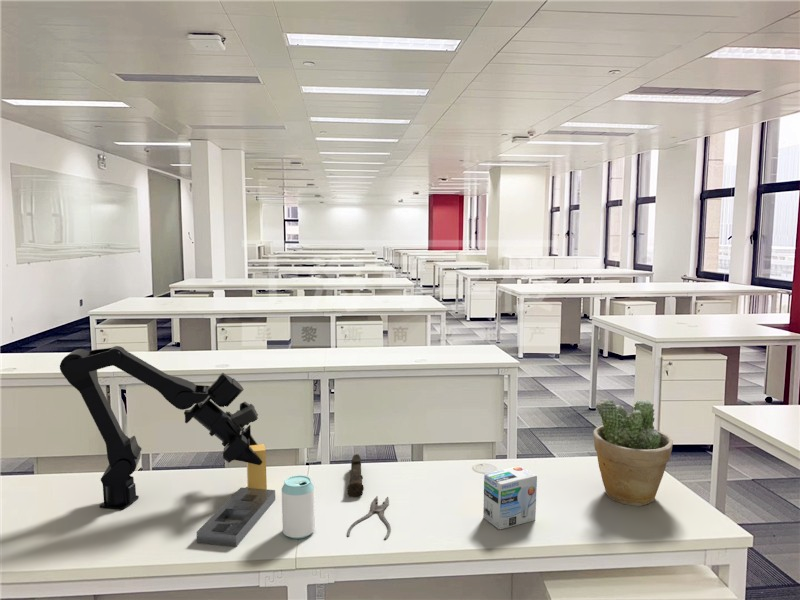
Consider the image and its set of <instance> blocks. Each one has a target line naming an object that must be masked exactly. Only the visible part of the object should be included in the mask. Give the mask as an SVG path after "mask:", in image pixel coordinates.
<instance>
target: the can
mask: <svg viewBox="0 0 800 600" xmlns="http://www.w3.org/2000/svg"><path fill="white" fill-rule="evenodd" d="M315 502H316V501H315V485H314V484H313V482H312V479H311V478H310V476H307V475H302V474H301V475H300V474H299V475H292V476H288V478H286V479H285V480H284V484H283V485H282V486H281V515H282V517H281V518H282V519H281V520H282V521H281V522H282V533H283V535H284V536H286V537H288V538H290V539H293V540H294V539H297V540H298V539H299V540H300V539H304V538H306V537H307V538H308V537H309V536H310V535H312V534H313V532H315V531H316V515H315V513H316V512H315V511H316V509H315V507H316V506H315Z"/></svg>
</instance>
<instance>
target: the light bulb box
mask: <svg viewBox="0 0 800 600" xmlns="http://www.w3.org/2000/svg"><path fill="white" fill-rule="evenodd" d="M483 475H484V477H483V479H484V480H483V515H482V517H483V518H484V519H485V520H486V521H487V522H489V523H490V524H491V525H493V526H494V527H496V528H497V529H498V530H505V529H507V528H511V527H514V526H515V527H516V526H519V525H522V524H525V523H529V522H532V521H533V522H534V521H536V513H537V512H536V511H537V508H536V507H537V487H538V486H537V485H538V476H537V475H536V474H534V473H533V472H531V471H530V470H527V469H526V468H523V467H522V466H520V465H517V466H516V465H515V466H514V467H508V468H504V469H501V470H500V469H499V470H496V471H491V472H487V473H484V474H483Z"/></svg>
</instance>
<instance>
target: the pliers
mask: <svg viewBox="0 0 800 600" xmlns="http://www.w3.org/2000/svg"><path fill="white" fill-rule="evenodd" d="M378 501H379V498H378V495H376V497H375V498H374V499H373V500H372V502H371V504H370V508H369V510H368V511H369V512H367V514H365V515H364V516H362V517H360V518H358V519H357V520H356V521H354V522H353V523H352V524H351V525H350V526H349V528H348V529H347V531H346V537H347V538H349V537H350V535H351V531H352V530H353V528H354V527H356V526H357V525H358V524H360V523H362V522H363V521H365V520H367V519H369V518H371V517H372V516H373V515H375V514H378V517H379V519H380V520H381V521H382V522H383V524H384V525H385V526H386V529H387V532H386V535H385V537H384V538H383V540H386V541H387V540H388V539H389V537H390V535H391V531H392V529H391V524H390V522H389V521H388V519H387V518H386V516H385V511H386V509H387V508H388V507H389V505H390V501H389V496H387V497H386V498H385V499H384V501H383V502H382V504H380V505H379V502H378Z"/></svg>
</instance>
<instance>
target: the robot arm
mask: <svg viewBox="0 0 800 600" xmlns="http://www.w3.org/2000/svg"><path fill="white" fill-rule="evenodd" d="M108 367H115V368H117V369H119V370H120V371H123V372H125V373H126V374H128V375H129V376H132V377H134V378H135V379H137V380H139V381H141V382H142V383H144V384H145V385H148V386H149V387H151V388H153V389H154V390H156V391H157V392H158V393H159V394H160V395H161V396H162V397H163V398H164V399H165V400H166V401H167V402H169V403H170V404H171V405H172V406H173V407H175V408H176V409H177V410H180V411H184V412H183V414H184V423H185V424H188V423H189V422H190V421H191V420H192V419H194V420H196V421H197V422H198V423H199V424H200V425H201V426H203V427H204V428H205V429H207V431H208V432H209V433H208V434H209V435H210V437H216V438H217V439H218V440H220V441H221V445H222V446H223V451H222V458H223V460H225V461H226V462H227V463H231V462H232V461H237V462H244V463H247V462H248V463H252V464H256V465H261V464H262V460H261V459H260V458H259V457H258V455H257V454H256V453H255V452H254V451H253V450H252V449H251V447H250V445H259V444H258V443H257V441H256V440H255V438H254V437H253V436H252V433H251V432H252V431H251V429H252V427H251V424H250V423H253V422H256V421H257V420H258V419H259V417H258V416H259V414H258V412H257V410H256V409H255V406H254V404H252V403H250V404H249V403H248V402H247V401H243V402H241V403H240V404H239V410H236V412H234V413H231V412H230V411H224V410H223V409H221V408H224V407H229V406H230V405H231V404H232V403H233V401H235V400H236V399H237V397H239V396H240V394H241V393H242V392H243V391H244V390H245V389H244V387H243V386H242V384H240V382H238V380H236V378H233V377H231V376H229V375H227V374H225V373H224V372H221V373H220V374H219V375H218V377H217V379H216V380H214V382H213V383H212V384H211V385H205V384H204V385H203V384H199V385H198V384H195V383H194V382H192V381H190V380H187V379H184V378H182V377H178V376H175V375H171V374H168V373H165V372H164V371H162V370H160V369H159V368H157V367H155V366H154V365H151V364H150V363H148V362H147V361H144V360H143V359H141V358H140V357H138V356H136V355H135V354H133V353H131V352H129V351H128V350H126V349H125V348H124V347H122V346H119V345H115V346H112V347H106V348H99V349H98V348H97V349H92V350H87V349H84V348H82V349H81V348H78V349H75V350H73V351H71V352H70V353H69V354H67V355H66V356H64V358H62V360H61V361H60V365H59V369H60V373H61V374H62V375H63V376H64V378H65V379H66V381H67V382H68V383H69V384H70V385H71V386H72V387H74V388H75V390H77V391H78V392H79V394H80V395H81V397H82V400H83V401H84V403H85V406H86V407H87V409H88V411H89V413H90V415H91V417H92V419H93V422H94V423H95V426H96V427H97V429H98V431H99V433H100V435H101V437H102V439H103V441H104V443H105V448H106V456H107V457H106V458H107V461H108V462H107V463H108V465H107V467H106V469H105V471H104V473H103V474H102V476H101V477H100V482H101V484H102V494H103V495H102V496H103V502H102V503H101V504H99V508H101V509H102V508H103V509H113V510H114V509H115V510H124V509H126V508H127V507H128V506H130V505H131V504H132V503H134V502H136V501H137V500H138V499H139V496H140V495H137V493H136V492H137V491H136V483H135V480H134V476H132V474H133V473H135V472H136V469H137V466H138V464H139V462H140V459H141V457H142V454H141V451H142V447H141V446H140V445H139V444H138V441H137V437H136V436H135V435H133V436H131V437H128V436H127V435H126V433H124V432H123V429H122V427H121V425H120V423H119V421H118V419H117V417H116V415H115V413H114V411H113V409H112V407H111V405H110V403H109V401H108V399H107V397H106V396H105V393H104V391H103V389H102V387H101V385H100V382H99V377H98V376H99V375H98V370H101V369H104V368H108ZM245 426H247V427H245Z"/></svg>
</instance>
